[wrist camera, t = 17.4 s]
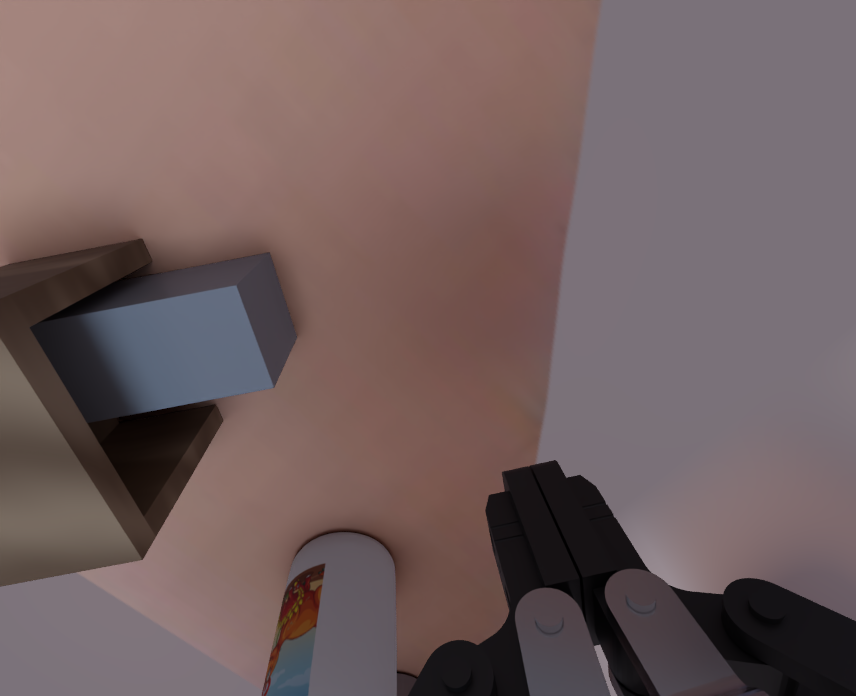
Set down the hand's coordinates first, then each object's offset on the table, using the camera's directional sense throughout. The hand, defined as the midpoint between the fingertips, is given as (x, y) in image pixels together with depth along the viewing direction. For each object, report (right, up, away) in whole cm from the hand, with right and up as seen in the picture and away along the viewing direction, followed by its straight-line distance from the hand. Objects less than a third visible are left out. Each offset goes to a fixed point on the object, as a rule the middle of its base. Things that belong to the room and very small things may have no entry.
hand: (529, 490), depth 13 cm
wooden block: (-20, +4, +13) cm, 24 cm away
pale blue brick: (-17, +6, +13) cm, 22 cm away
